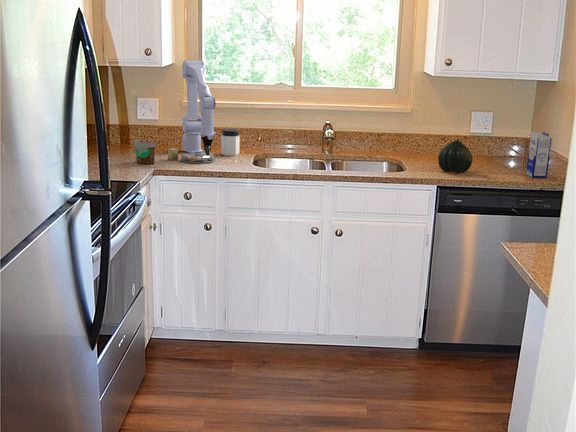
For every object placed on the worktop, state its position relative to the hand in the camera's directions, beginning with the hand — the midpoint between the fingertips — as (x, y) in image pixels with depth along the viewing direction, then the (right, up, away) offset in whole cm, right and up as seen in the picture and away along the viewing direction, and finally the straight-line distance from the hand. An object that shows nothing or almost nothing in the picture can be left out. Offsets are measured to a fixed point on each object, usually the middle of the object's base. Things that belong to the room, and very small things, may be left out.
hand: (207, 152), depth 308 cm
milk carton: (+149, -12, -14) cm, 150 cm away
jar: (+9, 0, +15) cm, 17 cm away
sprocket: (-4, -4, -3) cm, 7 cm away
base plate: (-4, -4, -3) cm, 7 cm away
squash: (+113, -10, -9) cm, 114 cm away
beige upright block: (-16, -4, -3) cm, 16 cm away
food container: (-28, -7, -14) cm, 31 cm away
